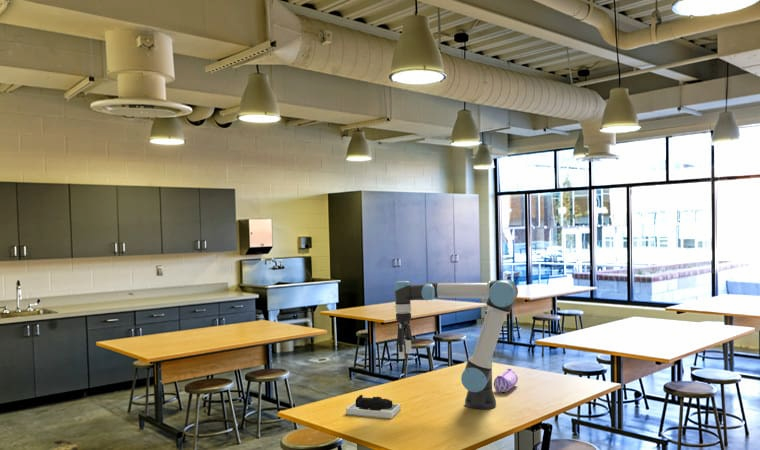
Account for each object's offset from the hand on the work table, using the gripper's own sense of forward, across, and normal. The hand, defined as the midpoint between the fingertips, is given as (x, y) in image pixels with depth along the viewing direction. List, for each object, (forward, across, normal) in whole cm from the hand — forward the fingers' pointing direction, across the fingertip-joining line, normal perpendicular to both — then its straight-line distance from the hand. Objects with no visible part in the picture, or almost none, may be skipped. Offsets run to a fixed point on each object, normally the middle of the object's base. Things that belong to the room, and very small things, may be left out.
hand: (405, 355), depth 294 cm
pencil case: (+27, -48, +43) cm, 70 cm away
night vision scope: (+24, +14, -13) cm, 31 cm away
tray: (+24, +14, -13) cm, 31 cm away
